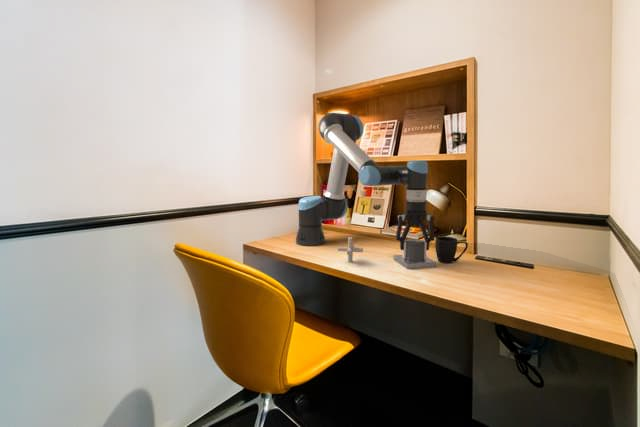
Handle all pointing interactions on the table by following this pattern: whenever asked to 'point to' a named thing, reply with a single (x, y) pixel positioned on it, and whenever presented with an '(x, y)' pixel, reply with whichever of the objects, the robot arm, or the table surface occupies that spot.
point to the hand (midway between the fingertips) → (414, 257)
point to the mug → (447, 249)
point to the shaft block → (414, 262)
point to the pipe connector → (350, 249)
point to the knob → (414, 249)
